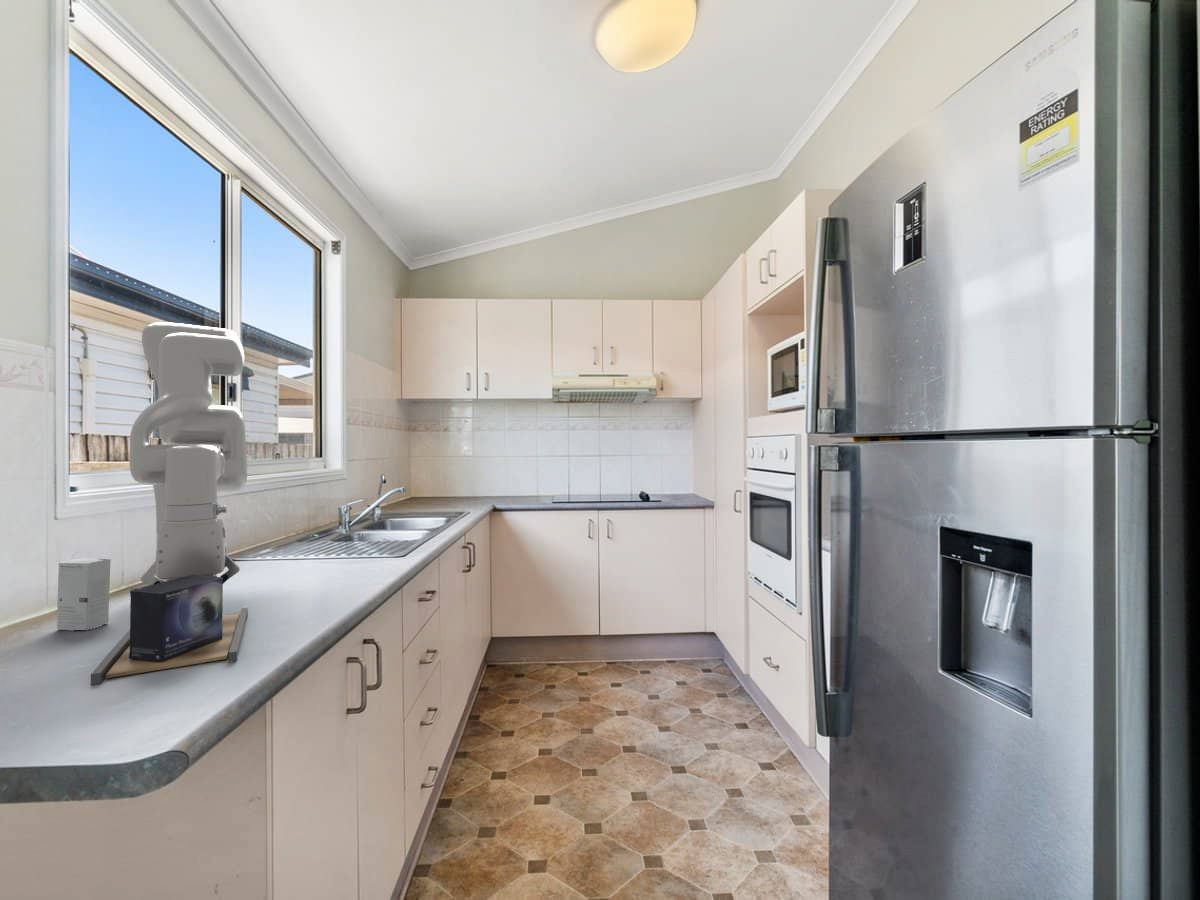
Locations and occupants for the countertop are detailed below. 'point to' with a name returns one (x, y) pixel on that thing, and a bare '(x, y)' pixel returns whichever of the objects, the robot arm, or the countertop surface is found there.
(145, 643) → the small box
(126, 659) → the thin plywood board
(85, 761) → the countertop surface
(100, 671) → the guide rails
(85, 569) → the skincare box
